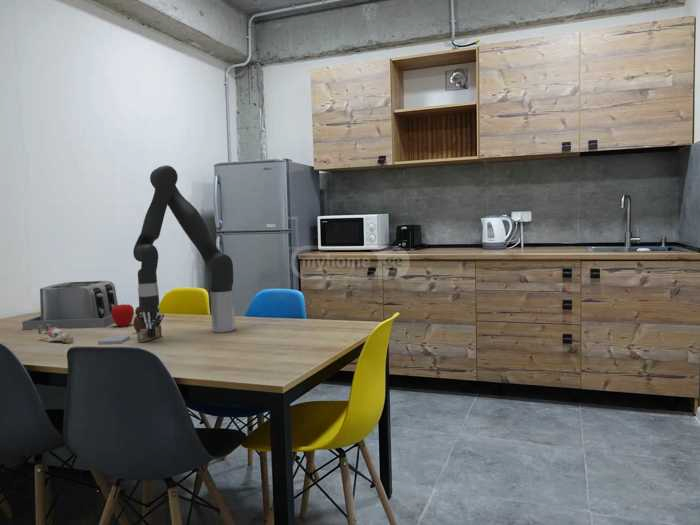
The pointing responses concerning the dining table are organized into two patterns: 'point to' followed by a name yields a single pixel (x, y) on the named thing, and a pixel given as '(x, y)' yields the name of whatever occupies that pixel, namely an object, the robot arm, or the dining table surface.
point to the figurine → (55, 334)
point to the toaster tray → (68, 323)
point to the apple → (122, 315)
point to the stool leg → (144, 334)
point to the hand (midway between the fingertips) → (151, 337)
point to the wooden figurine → (137, 323)
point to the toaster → (77, 300)
